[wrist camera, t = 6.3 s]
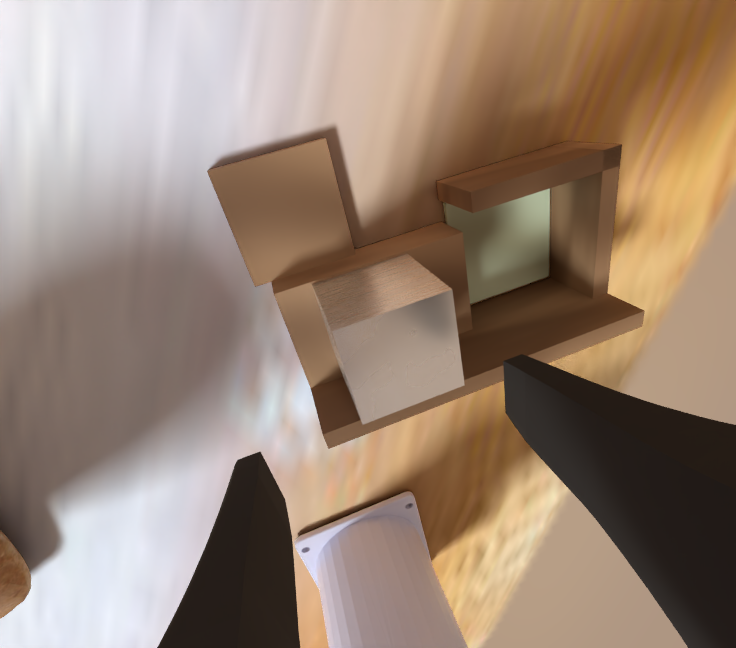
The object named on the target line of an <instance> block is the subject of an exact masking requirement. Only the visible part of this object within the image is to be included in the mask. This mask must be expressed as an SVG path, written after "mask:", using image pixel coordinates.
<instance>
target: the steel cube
mask: <svg viewBox="0 0 736 648" xmlns="http://www.w3.org/2000/svg"><path fill="white" fill-rule="evenodd" d="M312 286H313V289H314V292H315V295H316V298H317V301H318V304H319V307H320V310H321V313H322V316H323V319H324V323H325V326H326V329H327V332H328V335H329V338H330V341H331V344H332V347H333V350H334V353H335V356H336V359H337V362H338V365H339V367H340V370H341V372H342V375H343V377H344V380H345V382H346V385H347V387H348V390H349V392H350V395H351V397H352V400H353V402H354V405H355V407H356V410H357V412H358V415H359V417H360V420H361V422H362V425H363V424H366V423H369V422H371V421H374V420H376V419H379V418H381V417H384V416H387V415H389V414H392V413H394V412H397V411H400V410H402V409H405V408H407V407H410V406H412V405H415V404H418V403H420V402H423V401H425V400H428V399H430V398H433V397H436V396H438V395H441V394H443V393H446V392H449V391H451V390H454V389H456V388H459V387H461V386H464V385H465V384H464V376H463V369H462V361H461V353H460V345H459V338H458V330H457V322H456V314H455V307H454V299H453V291H452V289H451V288H450V287H449V286H447V285H446V284H445V283H444V282H442V281H441V280H440V279H439V278H437V277H436V276H435V275H434V274H432V273H431V272H430V271H428V270H427V269H426V268H425V267H423V266H422V265H421V264H420V263H418V262H417V261H416V260H415V259H413V258H412V257H411V256H410V255H408V254H407V253H405V254H402V255H399V256H396V257H393V258H390V259H387V260H384V261H381V262H378V263H375V264H372V265H369V266H366V267H363V268H360V269H357V270H354V271H351V272H348V273H345V274H342V275H339V276H336V277H333V278H330V279H327V280H324V281H321V282H318V283H315V284H312Z"/></svg>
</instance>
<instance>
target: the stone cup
mask: <svg viewBox="0 0 736 648" xmlns="http://www.w3.org/2000/svg"><path fill="white" fill-rule="evenodd" d="M30 589H31V574H30V571H29V568H28V566H27V564H26V562H25V561H24V559H23V557H22V556H21V554H20V553H19V552H18V550H17V549H16V548H15V546H14V545H13V544H12V543H11V541H10V540H9V539H8V538H7V537H6V536H5V535H4V534H3V532H2V531H1V530H0V618H2V617H4V616H5V615H6V614H8V613H9V612H10V611H12V610H13V609H14V608H15V607H16V606H17V605H19V604H20V603H21V602H23V601H24V599H25V598H26V596H27V595H28V593H29V591H30Z"/></svg>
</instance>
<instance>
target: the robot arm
mask: <svg viewBox="0 0 736 648" xmlns="http://www.w3.org/2000/svg"><path fill="white" fill-rule="evenodd" d="M503 367H504V388H505V409H506V414H507V415H508V417H509V418H510V420H511V421H512V423H513V424H514V426H515V427H516V428H517V430H518V431H519V433H520V434H521V435H522V437H523V438H524V439H525V441H526V442H527V443H528V444H529V445H530V447H531V448H532V449H533V450H534V451H535V452H536V453H537V454H538V455H539V457H540V458H541V459H542V460H543V461H544V462H545V463H546V464H547V465H548V466H549V468H550V469H551V470H552V471H553V472H554V473H555V474H556V475H557V476H558V477H559V478H560V480H561V481H562V482H563V483H564V484H565V485H566V486H567V487H568V488H569V489H570V490H571V492H572V493H573V494H574V495H575V496H576V497H577V498H578V499H579V500H580V501H581V502H582V503H583V505H584V506H585V507H586V508H587V509H588V510H589V512H590V513H591V514H592V515H593V516H594V518H596V520H597V521H598V522H599V524H600V525H601V526H602V528H603V529H604V530H605V532H606V533H607V534H608V536H609V537H610V538H611V539H612V541H613V542H614V543H615V545H616V546H617V547H618V549H619V550H620V551H621V553H622V554H623V555H624V557H625V558H626V559H627V561H628V562H629V564H630V565H631V566H632V568H633V569H634V570H635V572H636V573H637V574H638V576H639V577H640V579H641V580H642V581H643V583H644V584H645V586H646V587H647V588H648V589H649V591H650V592H651V594H652V595H653V597H654V598H655V600H656V601H657V603H658V604H659V605H660V607H661V608H662V610H663V611H664V613H665V614H666V616H667V617H668V618H669V620H670V621H671V623H672V624H673V626H674V627H675V628H676V630H677V631H678V633H679V634H680V636H681V637H682V639H683V640H684V642H685V643H686V645H687V646H688V648H736V425H733V424H728V423H724V422H719V421H715V420H711V419H707V418H703V417H699V416H695V415H692V414H688V413H684V412H681V411H677V410H674V409H670V408H667V407H663V406H660V405H657V404H653V403H650V402H647V401H644V400H641V399H638V398H635V397H632V396H629V395H626V394H623V393H620V392H618V391H615V390H612V389H609V388H607V387H604V386H601V385H599V384H596V383H593V382H591V381H588V380H586V379H583V378H581V377H578V376H576V375H573V374H571V373H568V372H566V371H563V370H561V369H558V368H556V367H553V366H551V365H549V364H546V363H544V362H541V361H539V360H536V359H534V358H531V357H528V356H526V355H523V354H521V355H518V356H515V357H513V358H510V359H507V360H505V361H503ZM295 548H296V550H297V552H298V553H299V555H300V557H301V559H302V560H303V562H304V564H305V566H306V567H307V569H308V571H309V572H310V574H311V576H312V578H313V579H314V581H315V583H316V585H317V586H318V588H319V591H320V597H321V603H322V609H323V615H324V621H325V627H326V633H327V639H328V645H329V648H468V647H467V644H466V642H465V640H464V638H463V635H462V633H461V631H460V628H459V626H458V624H457V621H456V619H455V617H454V614H453V612H452V610H451V607H450V605H449V603H448V600H447V598H446V596H445V593H444V591H443V589H442V586H441V584H440V582H439V579H438V577H437V575H436V573H435V570H434V568H433V565H432V561H431V558H430V554H429V550H428V546H427V542H426V539H425V535H424V531H423V527H422V523H421V520H420V516H419V512H418V508H417V504H416V501H415V497H414V495H413V493H412V492H409V491H407V492H404V493H401V494H399V495H396V496H394V497H392V498H389V499H387V500H384V501H382V502H380V503H377V504H375V505H372V506H370V507H368V508H365V509H363V510H360V511H358V512H356V513H353V514H351V515H348V516H346V517H344V518H341V519H339V520H336V521H334V522H332V523H329V524H327V525H324V526H322V527H320V528H317V529H315V530H313V531H310V532H308V533H305V534H303V535H301V536H299V537H297V538H296V539H295ZM157 648H300V641H299V631H298V617H297V602H296V587H295V572H294V558H293V544H292V535H291V529H290V523H289V518H288V512H287V507H286V502H285V498H284V497H283V495H282V493H281V491H280V489H279V487H278V485H277V483H276V481H275V479H274V477H273V475H272V473H271V471H270V469H269V467H268V465H267V464H266V462H265V460H264V458H263V456H262V454H261V452H258V453H255V454H252V455H250V456H247V457H244V458H242V459H239V460H237V462H236V464H235V466H234V470H233V473H232V476H231V479H230V482H229V485H228V488H227V491H226V494H225V497H224V499H223V502H222V505H221V508H220V511H219V513H218V516H217V519H216V521H215V524H214V526H213V529H212V532H211V534H210V537H209V539H208V542H207V544H206V547H205V549H204V552H203V554H202V556H201V559H200V561H199V563H198V565H197V568H196V570H195V572H194V575H193V577H192V579H191V581H190V584H189V586H188V588H187V590H186V592H185V594H184V596H183V599H182V601H181V603H180V605H179V607H178V609H177V611H176V613H175V615H174V617H173V619H172V621H171V623H170V625H169V627H168V629H167V631H166V632H165V634H164V636H163V638H162V640H161V642H160V644H159V646H158V647H157Z"/></svg>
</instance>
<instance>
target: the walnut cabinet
mask: <svg viewBox="0 0 736 648" xmlns="http://www.w3.org/2000/svg"><path fill="white" fill-rule="evenodd" d="M621 149H622V144H607V143H590V142H573V141H566V142H563V143H559V144H556V145H553V146H549V147H546V148H543V149H540V150H536V151H533V152H530V153H527V154H523V155H520V156H517V157H514V158H510V159H507V160H504V161H500V162H497V163H494V164H491V165H487V166H484V167H481V168H478V169H474V170H471V171H468V172H465V173H461V174H458V175H455V176H451V177H448V178H445V179H442V180H438V181H436V185H437V192H438V200H440V201H443V202H444V203H443V206H444V214H445V222H446V224H445V223H443V222H439V223H436V224H432V225H429V226H426V227H423V228H420V229H417V230H414V231H411V232H408V233H405V234H401V235H398V236H395V237H392V238H389V239H386V240H383V241H380V242H377V243H373V244H370V245H367V246H364V247H361V248H358V249H355V250H354V246H353V242H352V238H351V234H350V230H349V226H348V223H347V219H346V215H345V211H344V207H343V203H342V199H341V195H340V191H339V187H338V183H337V180H336V176H335V172H334V168H333V164H332V160H331V156H330V152H329V148H328V144H327V141H326V138H320V139H317V140H313V141H309V142H306V143H302V144H299V145H295V146H291V147H288V148H284V149H281V150H277V151H273V152H270V153H266V154H263V155H259V156H256V157H252V158H248V159H245V160H241V161H238V162H234V163H230V164H227V165H223V166H220V167H216V168H212V169H209V170H208V171H207V172H208V175H209V177H210V179H211V182H212V184H213V187H214V189H215V191H216V194H217V196H218V199H219V201H220V203H221V206H222V208H223V211H224V213H225V215H226V218H227V220H228V223H229V225H230V228H231V230H232V232H233V235H234V237H235V240H236V242H237V244H238V247H239V249H240V252H241V254H242V256H243V259H244V261H245V264H246V266H247V269H248V271H249V273H250V276H251V278H252V281H253V283H254V285H255V287H256V286H259V285H262V284H265V283H268V282H272V286H273V292H274V296H275V298H276V301H277V303H278V306H279V308H280V311H281V313H282V316H283V319H284V321H285V324H286V326H287V329H288V331H289V334H290V336H291V339H292V342H293V344H294V347H295V349H296V352H297V354H298V357H299V359H300V362H301V364H302V367H303V370H304V372H305V375H306V377H307V380H308V382H309V385H310V387H311V391H312V395H313V398H314V402H315V406H316V410H317V414H318V418H319V421H320V425H321V429H322V433H323V436H324V439H325V441H326V443H327V446H328V448H332V447H335V446H337V445H340V444H342V443H345V442H347V441H350V440H353V439H355V438H358V437H360V436H363V435H365V434H368V433H370V432H373V431H376V430H378V429H381V428H383V427H386V426H388V425H391V424H393V423H396V422H399V421H401V420H404V419H406V418H409V417H411V416H414V415H417V414H419V413H422V412H424V411H427V410H429V409H432V408H434V407H437V406H440V405H442V404H445V403H447V402H450V401H452V400H455V399H458V398H460V397H463V396H465V395H468V394H470V393H473V392H475V391H478V390H481V389H483V388H486V387H488V386H491V385H493V384H496V383H498V382H501V381H504V367H503V361H505V360H507V359H510V358H513V357H515V356H518V355H521V354H523V355H526V356H528V357H531V358H534V359H536V360H539V361H541V362H544V363H546V364H547V363H550V362H552V361H555V360H557V359H560V358H562V357H565V356H568V355H570V354H573V353H575V352H578V351H580V350H583V349H586V348H588V347H591V346H593V345H596V344H598V343H601V342H603V341H606V340H609V339H611V338H614V337H616V336H619V335H621V334H624V333H627V332H629V331H632V330H634V329H637V328H639V327H642V324H643V317H644V310H642V309H639V308H637V307H635V306H633V305H631V304H629V303H627V302H625V301H622V300H620V299H618V298H616V297H614V296H612V295H610V294H607V291H608V281H609V271H610V261H611V250H612V240H613V230H614V220H615V210H616V200H617V190H618V180H619V169H620V159H621ZM550 188H551V219H550ZM549 236H550V277H549V278H546V277H548V276H549ZM405 253H407V254H408V255H410V256H411V257H412V258H413V259H415V260H416V261H417V262H418V263H420V264H421V265H422V266H423V267H425V268H426V269H427V270H428V271H430V272H431V273H432V274H434V275H435V276H436V277H437V278H439V279H440V280H441V281H442V282H444V283H445V284H446V285H447V286H449V287H450V288H451V289H452V291H453V299H454V307H455V314H456V322H457V330H458V338H459V345H460V353H461V361H462V369H463V376H464V384H465V385H464V386H461V387H459V388H456V389H454V390H451V391H449V392H446V393H443V394H441V395H438V396H436V397H433V398H430V399H428V400H425V401H423V402H420V403H418V404H415V405H412V406H410V407H407V408H405V409H402V410H400V411H397V412H394V413H392V414H389V415H387V416H384V417H381V418H379V419H376V420H374V421H371V422H369V423H366V424H363V425H362V422H361V420H360V417H359V415H358V412H357V410H356V407H355V405H354V402H353V400H352V397H351V395H350V392H349V390H348V387H347V385H346V382H345V380H344V377H343V375H342V372H341V370H340V367H339V365H338V362H337V359H336V356H335V353H334V350H333V347H332V344H331V341H330V338H329V335H328V332H327V329H326V326H325V323H324V319H323V316H322V313H321V310H320V307H319V304H318V301H317V298H316V295H315V292H314V289H313V286H312V284H315V283H318V282H321V281H324V280H327V279H330V278H333V277H336V276H339V275H342V274H345V273H348V272H351V271H354V270H357V269H360V268H363V267H366V266H369V265H372V264H375V263H378V262H381V261H384V260H387V259H390V258H393V257H396V256H399V255H402V254H405ZM543 278H546V279H543ZM540 279H543V280H540ZM537 280H540V281H538V282H535V283H532V282H534V281H537ZM529 283H532V284H529ZM526 284H529V285H526ZM523 285H526V286H524V287H521V288H518V287H520V286H523ZM515 288H518V289H515ZM512 289H515V290H512ZM509 290H512V291H510V292H507V293H504V294H501V293H503V292H506V291H509ZM498 294H501V295H498ZM495 295H498V296H496V297H493V298H490V299H487V298H489V297H492V296H495ZM484 299H487V300H484ZM481 300H484V301H482V302H479V303H476V304H473V303H475V302H478V301H481ZM470 304H473V305H470Z"/></svg>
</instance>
